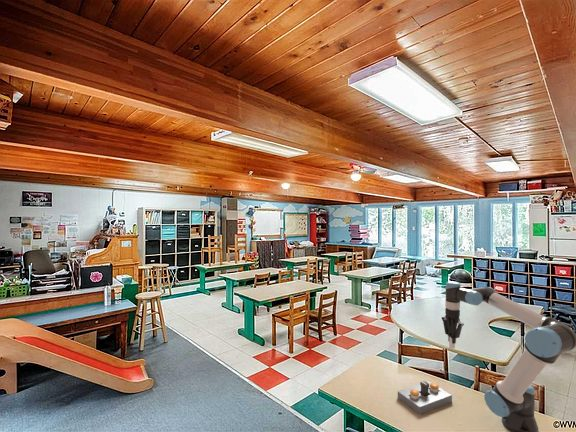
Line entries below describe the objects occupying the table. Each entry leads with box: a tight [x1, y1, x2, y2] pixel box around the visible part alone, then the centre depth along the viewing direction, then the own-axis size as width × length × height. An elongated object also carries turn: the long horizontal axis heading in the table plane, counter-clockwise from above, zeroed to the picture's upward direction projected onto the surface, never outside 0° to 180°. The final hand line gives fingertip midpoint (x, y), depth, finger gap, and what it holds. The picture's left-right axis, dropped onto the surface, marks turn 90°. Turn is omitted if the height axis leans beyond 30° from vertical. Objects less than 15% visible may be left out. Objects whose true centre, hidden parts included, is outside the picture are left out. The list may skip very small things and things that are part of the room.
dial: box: [419, 380, 429, 396], centre depth 178 cm, size 5×5×7 cm
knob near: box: [410, 389, 419, 400], centre depth 175 cm, size 5×5×7 cm
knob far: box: [430, 382, 440, 393], centre depth 182 cm, size 5×5×7 cm
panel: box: [397, 380, 453, 415], centre depth 178 cm, size 16×26×4 cm, turn 115°
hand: (451, 348), depth 178 cm, fingers closed
